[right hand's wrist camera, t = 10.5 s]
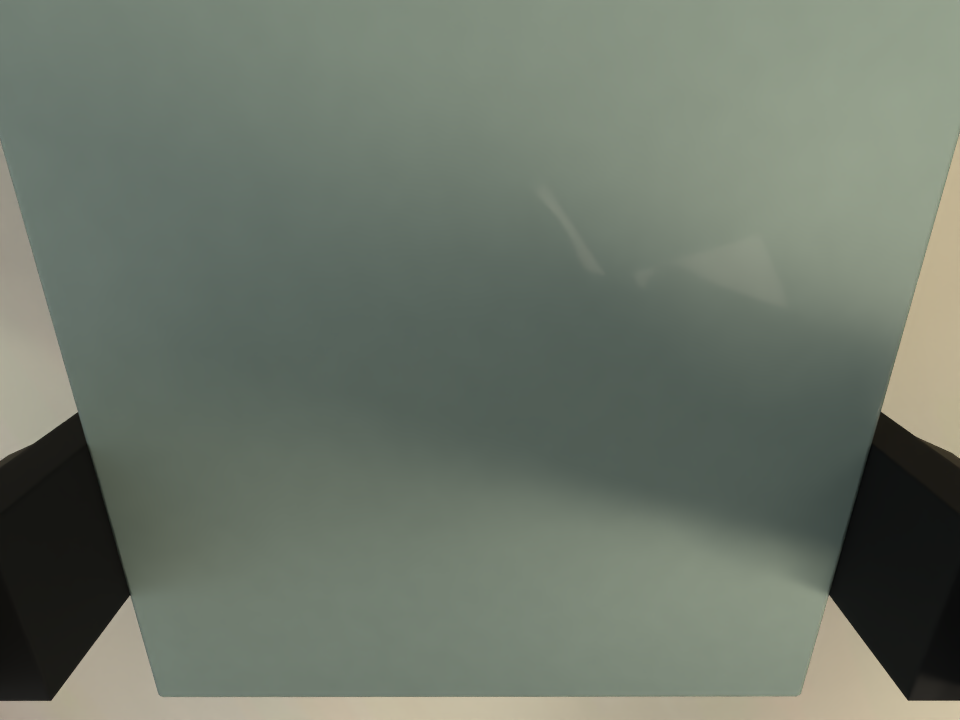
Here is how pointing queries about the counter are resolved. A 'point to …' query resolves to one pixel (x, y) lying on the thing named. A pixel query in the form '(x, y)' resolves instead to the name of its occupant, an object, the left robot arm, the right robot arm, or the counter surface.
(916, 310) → the counter surface
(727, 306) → the cabinet
